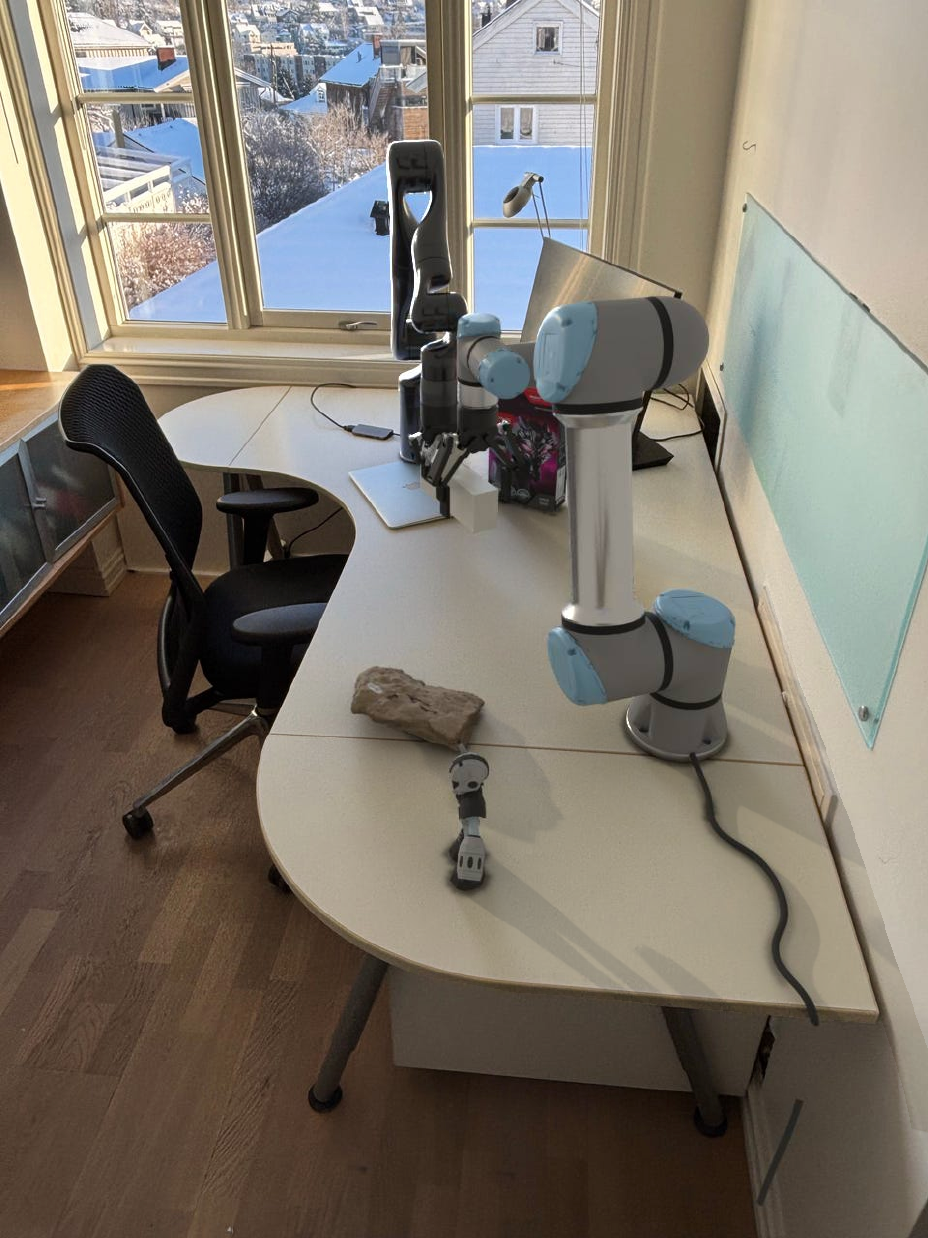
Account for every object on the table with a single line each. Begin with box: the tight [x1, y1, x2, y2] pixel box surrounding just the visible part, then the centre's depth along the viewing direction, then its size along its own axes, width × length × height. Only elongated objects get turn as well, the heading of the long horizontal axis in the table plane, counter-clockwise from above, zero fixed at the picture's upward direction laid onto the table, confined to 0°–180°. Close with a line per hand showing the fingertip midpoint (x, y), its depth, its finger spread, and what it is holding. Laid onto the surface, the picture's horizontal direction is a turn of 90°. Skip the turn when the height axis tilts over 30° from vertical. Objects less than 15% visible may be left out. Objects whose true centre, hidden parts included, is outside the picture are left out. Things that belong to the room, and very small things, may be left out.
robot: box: [448, 739, 490, 891], centre depth 115 cm, size 20×5×20 cm, turn 3°
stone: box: [349, 665, 486, 752], centre depth 143 cm, size 21×15×6 cm
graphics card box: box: [487, 387, 567, 513], centre depth 201 cm, size 17×7×27 cm, turn 62°
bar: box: [419, 449, 499, 534], centre depth 184 cm, size 22×5×8 cm, turn 30°
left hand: (439, 477), depth 189 cm, fingers closed on bar, 5 cm apart
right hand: (475, 507), depth 179 cm, fingers open, 13 cm apart
